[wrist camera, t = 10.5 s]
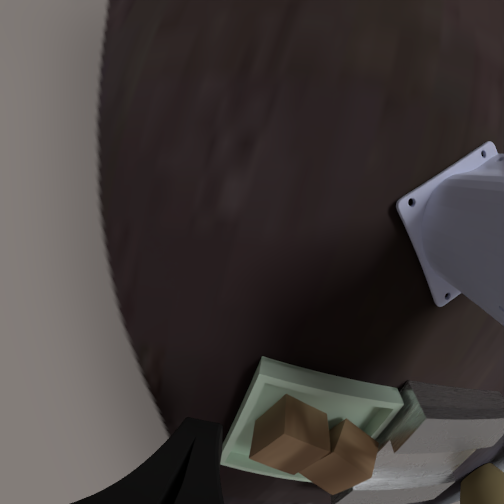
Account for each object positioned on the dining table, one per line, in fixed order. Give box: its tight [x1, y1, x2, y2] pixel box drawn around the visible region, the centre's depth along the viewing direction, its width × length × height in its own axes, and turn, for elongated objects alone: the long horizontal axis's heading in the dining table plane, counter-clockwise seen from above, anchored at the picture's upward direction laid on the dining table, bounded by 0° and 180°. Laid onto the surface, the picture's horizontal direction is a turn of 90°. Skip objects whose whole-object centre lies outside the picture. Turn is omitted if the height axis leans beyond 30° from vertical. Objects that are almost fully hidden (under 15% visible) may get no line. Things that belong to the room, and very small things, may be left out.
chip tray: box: [220, 356, 404, 482], centre depth 19 cm, size 11×12×2 cm
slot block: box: [331, 380, 504, 504], centre depth 17 cm, size 14×14×4 cm
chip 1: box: [249, 394, 331, 475], centre depth 17 cm, size 4×4×4 cm
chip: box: [298, 418, 379, 495], centre depth 17 cm, size 4×4×4 cm
